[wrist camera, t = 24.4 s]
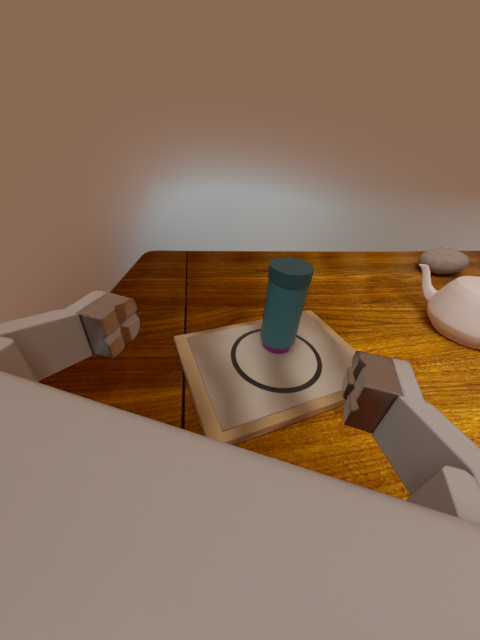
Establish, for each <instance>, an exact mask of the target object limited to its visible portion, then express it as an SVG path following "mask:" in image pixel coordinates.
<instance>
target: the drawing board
mask: <svg viewBox="0 0 480 640" xmlns="http://www.w3.org/2000/svg"><path fill="white" fill-rule="evenodd" d="M262 321H263V319H262V320H256V321H251V322H246V323H241V324H236V325H230V326H225V327H220V328H215V329H210V330H204V331H199V332H194V333H189V334H184V335H178V336H174V343H175V346H176V350H177V353H178V356H179V359H180V362H181V365H182V369H183V372H184V375H185V378H186V381H187V384H188V387H189V391H190V394H191V397H192V400H193V403H194V406H195V410H196V413H197V416H198V419H199V422H200V425H201V429H202V432H203V435H204V436H206V437H209V438H212V439H215V440H218V441H221V442H224V443H228V444H231V445H237V444H239V443H242V442H245V441H247V440H250V439H253V438H256V437H258V436H261V435H264V434H266V433H269V432H272V431H274V430H277V429H280V428H283V427H285V426H288V425H291V424H293V423H296V422H299V421H301V420H304V419H307V418H310V417H312V416H315V415H318V414H320V413H323V412H326V411H328V410H331V409H334V408H337V407H339V406H342V405H344V404H345V402H346V400H345V399H344V398H343V396H342V385H343V380H344V376H345V374H346V371H347V369H348V368H350V367H352V358H353V356H354V354H355V352H356V350H355V349H354V348H352V347H351V346H350V345H349V344H348V343H347V342H346V341H345V340H343V339H342V338H341V337H340V336H339V335H338V334H337V333H336V332H335V331H333V330H332V329H331V328H330V327H329V326H328V325H327V324H326V323H325V322H323V321H322V320H321V319H320V318H319V317H318V316H317V315H316V314H314V313H313V312H312V311H311V310H308V311H303V312H302V315H301V319H300V323H299V327H298V331H297V335H296V339H295V343H294V344H293V345H292V346H291V347H290V349H289V351H287V352H286V353H283V354H274V353H271V352H269V351H267V350H266V349H265V348H264V347H263V344H262V342H263V341H262V339H261V336H260V335H261V328H262Z"/></svg>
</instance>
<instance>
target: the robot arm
mask: <svg viewBox="0 0 480 640" xmlns="http://www.w3.org/2000/svg"><path fill="white" fill-rule="evenodd" d="M136 309H137V306H136V302H135V300H133V299H132V298H128V297H124V296H120V295H116V294H112V293H108V292H104V291H99V290H98V291H93V292H91V293H90V294H88V295H86V296H85V297H83V298H81V299H80V300H78V301H77V302H75V303H73V304H72V305H70V306H68V307H67V308H65V309H64V310H60V309H58V310H54V311H49V312H46V313H41V314H37V315H33V316H28V317H24V318H20V319H16V320H12V321H7V322H3V323H0V640H480V448H479V447H478V446H477V445H476V444H474V443H473V442H472V441H471V440H470V439H469V438H468V437H467V436H466V435H465V434H464V433H462V432H461V431H460V430H459V429H458V428H457V427H456V426H455V425H454V424H453V423H452V422H450V421H449V420H448V419H447V418H446V417H445V416H444V415H443V414H442V413H441V412H439V411H438V410H437V409H436V408H435V407H434V406H433V405H432V404H431V403H427V402H425V400H424V398H423V395H422V393H421V390H420V388H419V385H418V382H417V380H416V377H415V375H414V372H413V370H412V367H411V364H410V363H409V362H408V361H405V360H400V359H395V358H387V357H383V356H379V355H374V354H370V353H365V352H361V351H356V352H355V354H354V356H353V358H352V367H350V368H348V369H347V371H346V374H345V376H344V380H343V385H342V396H343V398H344V399H345V400H346V402H345V404H344V406H343V415H344V425H347V426H350V427H354V428H357V429H360V430H363V431H366V432H370V433H373V434H372V435H373V437H374V438H375V440H376V442H377V443H378V445H379V446H380V448H381V449H382V451H383V453H384V454H385V456H386V457H387V459H388V460H389V462H390V463H391V465H392V467H393V468H394V470H395V471H396V473H397V474H398V476H399V478H400V479H401V481H402V482H403V484H404V485H405V487H406V489H407V490H408V492H409V493H410V495H411V496H410V497H409V498H408V499H407V500H402V499H399V498H396V497H393V496H390V495H387V494H384V493H381V492H378V491H374V490H371V489H368V488H365V487H362V486H359V485H356V484H353V483H349V482H346V481H343V480H340V479H337V478H334V477H331V476H328V475H325V474H321V473H318V472H315V471H312V470H309V469H306V468H303V467H300V466H296V465H293V464H290V463H287V462H284V461H281V460H278V459H275V458H271V457H268V456H265V455H262V454H259V453H256V452H253V451H250V450H246V449H243V448H240V447H237V446H234V445H231V444H228V443H224V442H221V441H218V440H215V439H212V438H209V437H206V436H203V435H199V434H196V433H193V432H190V431H187V430H184V429H181V428H178V427H174V426H171V425H168V424H165V423H162V422H159V421H156V420H153V419H150V418H147V417H143V416H140V415H137V414H134V413H131V412H128V411H125V410H122V409H119V408H116V407H112V406H109V405H106V404H103V403H100V402H97V401H94V400H91V399H87V398H84V397H81V396H78V395H75V394H72V393H69V392H66V391H63V390H59V389H56V388H53V387H50V386H47V385H44V384H41V383H38V381H40V380H42V379H44V378H46V377H48V376H50V375H52V374H54V373H57V372H59V371H61V370H63V369H65V368H67V367H69V366H71V365H73V364H76V363H78V362H80V361H82V360H84V359H86V358H88V357H90V356H92V355H93V354H94V355H98V356H102V357H106V358H110V359H114V358H115V357H116V356H117V355H118V354H119V353H120V352H121V351H122V350H123V349H124V345H125V343H127V342H129V341H132V340H133V339H134V338H135V337H136V335H137V333H138V331H139V327H140V322H139V318H138V316H137V315H136V314H135V311H136Z"/></svg>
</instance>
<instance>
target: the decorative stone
mask: <svg viewBox="0 0 480 640" xmlns="http://www.w3.org/2000/svg"><path fill="white" fill-rule="evenodd" d="M419 264H426V265H429V269H430V272H431V273H435V274H453V273H457V272H460V271H462V270H464V269H465V268H466V267H467V266H468V264H469V259H468V257H467V256H466V255H465V254H464V253H462V252H460V251H458V250H455V249H451V248H434V249H430V250H428V251H425V252H424V253H423V254H422V255H421V256H420V257H419Z"/></svg>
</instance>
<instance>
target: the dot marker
mask: <svg viewBox="0 0 480 640" xmlns="http://www.w3.org/2000/svg"><path fill="white" fill-rule="evenodd" d="M313 271H314V268H313V266H312V265H311V264H309V263H308V262H306V261H303V260H300V259H296V258H289V257H281V258H276V259H273V260H272V261H271V262H270V267H269V274H268V278H269V280H268V287H267V294H266V300H265V307H264V314H263V321H262V328H261V335H260V336H261V339H262V341H263V342H262V344H263V347H264V348H265V349H266V350H267V351H269V352H271V353H274V354H283V353H286V352H287V351H289V349H290V347H291V346H292V345H293V344H294V343H295V339H296V335H297V331H298V327H299V323H300V319H301V315H302V311H303V307H304V303H305V299H306V295H307V291H308V287H309V285H310V283H311V279H312V275H313Z"/></svg>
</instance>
